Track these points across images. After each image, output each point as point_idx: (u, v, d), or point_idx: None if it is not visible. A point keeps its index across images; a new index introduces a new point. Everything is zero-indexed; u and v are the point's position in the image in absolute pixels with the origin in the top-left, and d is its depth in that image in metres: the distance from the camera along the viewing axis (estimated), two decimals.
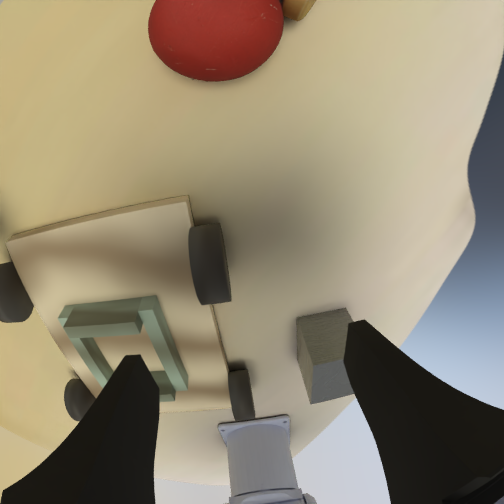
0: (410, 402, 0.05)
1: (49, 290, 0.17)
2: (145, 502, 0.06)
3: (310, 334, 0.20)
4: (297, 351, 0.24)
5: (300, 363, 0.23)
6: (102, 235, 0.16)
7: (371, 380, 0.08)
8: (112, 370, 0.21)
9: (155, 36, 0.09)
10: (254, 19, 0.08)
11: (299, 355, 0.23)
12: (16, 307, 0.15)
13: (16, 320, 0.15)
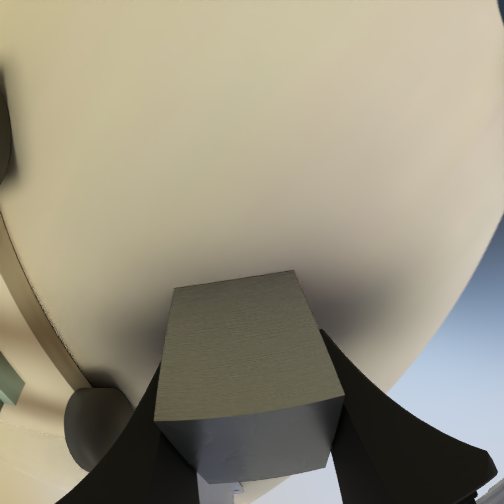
0: (352, 422, 0.05)
1: None
2: None
3: (184, 330, 0.08)
4: None
5: None
6: None
7: None
8: None
9: None
10: None
11: None
12: None
13: None
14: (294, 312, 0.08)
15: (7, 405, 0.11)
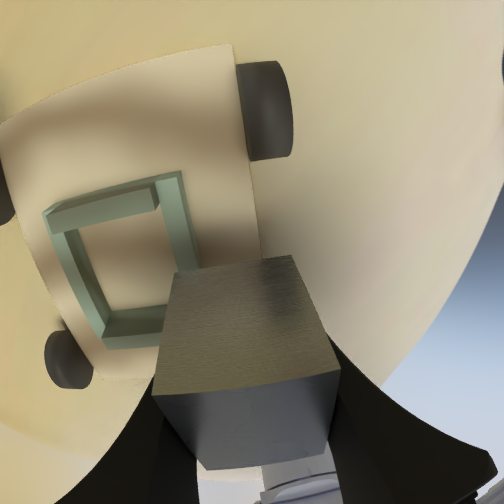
0: (352, 422, 0.05)
1: (37, 182, 0.12)
2: None
3: (184, 310, 0.08)
4: None
5: None
6: (119, 89, 0.11)
7: None
8: (109, 307, 0.16)
9: None
10: None
11: None
12: None
13: None
14: (291, 292, 0.08)
15: None
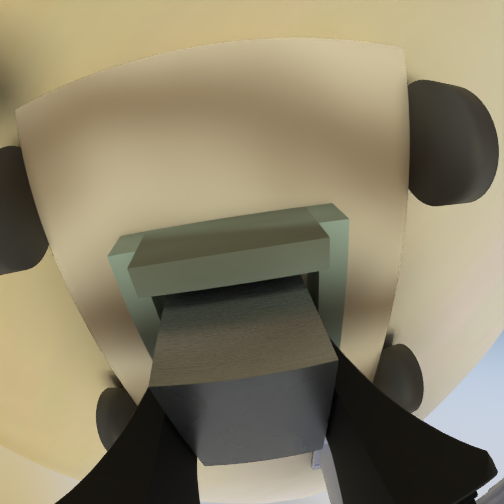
0: (351, 422, 0.05)
1: (90, 202, 0.09)
2: None
3: (182, 303, 0.08)
4: None
5: None
6: (253, 71, 0.08)
7: None
8: None
9: None
10: None
11: None
12: (13, 236, 0.07)
13: (10, 264, 0.07)
14: (289, 285, 0.08)
15: None
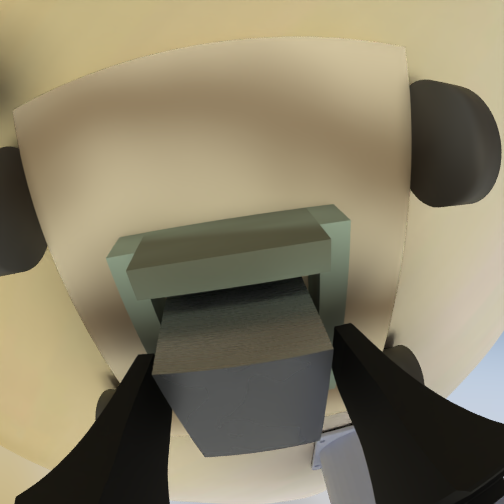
0: (392, 409, 0.05)
1: (89, 203, 0.09)
2: (160, 503, 0.06)
3: (184, 296, 0.08)
4: None
5: None
6: (254, 70, 0.07)
7: (356, 385, 0.08)
8: None
9: None
10: None
11: None
12: (11, 238, 0.07)
13: (7, 266, 0.07)
14: (286, 279, 0.08)
15: None
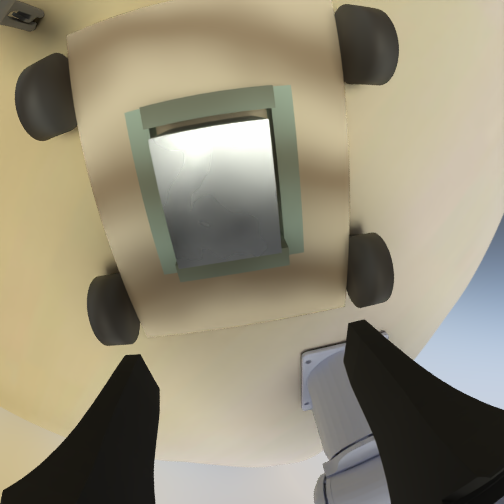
0: (410, 402, 0.05)
1: (115, 89, 0.12)
2: (145, 502, 0.06)
3: (175, 129, 0.11)
4: None
5: None
6: (227, 8, 0.10)
7: (371, 380, 0.08)
8: None
9: None
10: None
11: None
12: (57, 105, 0.10)
13: (52, 118, 0.10)
14: (246, 117, 0.11)
15: (229, 290, 0.18)
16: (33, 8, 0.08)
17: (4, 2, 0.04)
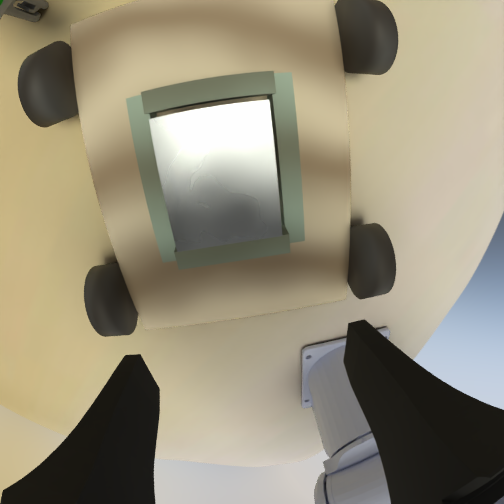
0: (410, 402, 0.05)
1: (117, 77, 0.11)
2: (145, 502, 0.06)
3: None
4: None
5: None
6: None
7: (371, 380, 0.08)
8: None
9: None
10: None
11: None
12: (59, 91, 0.10)
13: (53, 103, 0.09)
14: None
15: (229, 281, 0.18)
16: None
17: None
